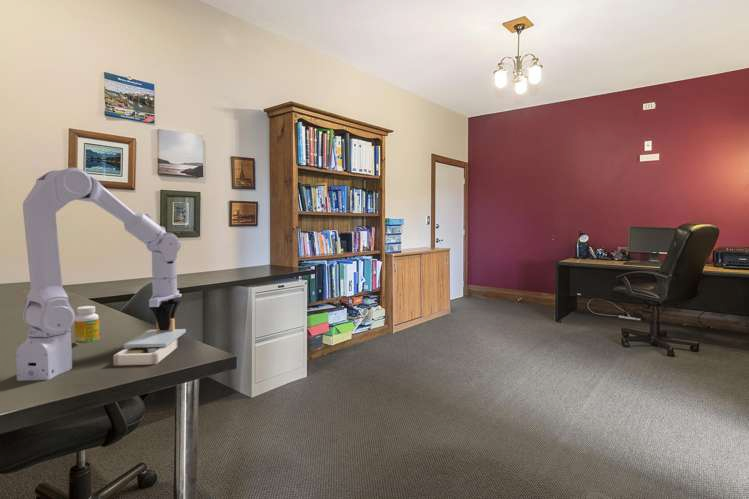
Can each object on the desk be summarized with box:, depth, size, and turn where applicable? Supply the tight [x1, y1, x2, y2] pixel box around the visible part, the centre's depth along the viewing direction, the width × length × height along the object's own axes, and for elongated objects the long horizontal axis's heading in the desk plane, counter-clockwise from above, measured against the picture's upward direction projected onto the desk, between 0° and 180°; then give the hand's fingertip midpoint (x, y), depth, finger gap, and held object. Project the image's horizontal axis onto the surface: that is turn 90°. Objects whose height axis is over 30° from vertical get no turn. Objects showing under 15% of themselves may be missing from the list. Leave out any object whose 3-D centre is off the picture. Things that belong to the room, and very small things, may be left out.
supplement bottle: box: [73, 305, 100, 346], centre depth 110 cm, size 5×5×10 cm
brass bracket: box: [125, 350, 143, 354], centre depth 93 cm, size 3×3×2 cm
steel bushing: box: [147, 347, 160, 353], centre depth 97 cm, size 3×3×2 cm
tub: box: [112, 337, 179, 366], centre depth 97 cm, size 13×9×3 cm
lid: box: [123, 317, 187, 349], centre depth 102 cm, size 13×9×4 cm
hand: (165, 328), depth 108 cm, fingers closed on lid, 2 cm apart
